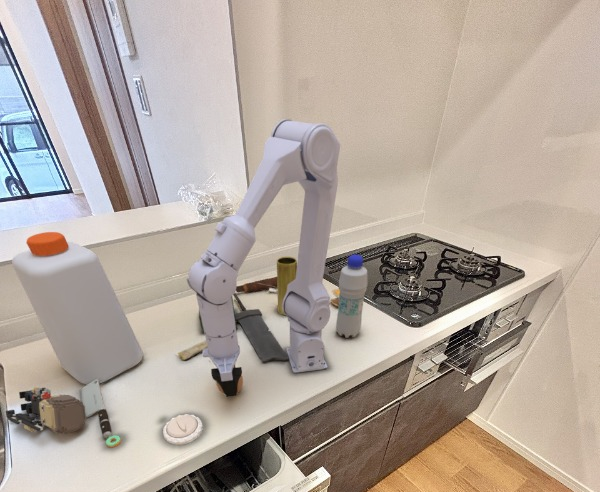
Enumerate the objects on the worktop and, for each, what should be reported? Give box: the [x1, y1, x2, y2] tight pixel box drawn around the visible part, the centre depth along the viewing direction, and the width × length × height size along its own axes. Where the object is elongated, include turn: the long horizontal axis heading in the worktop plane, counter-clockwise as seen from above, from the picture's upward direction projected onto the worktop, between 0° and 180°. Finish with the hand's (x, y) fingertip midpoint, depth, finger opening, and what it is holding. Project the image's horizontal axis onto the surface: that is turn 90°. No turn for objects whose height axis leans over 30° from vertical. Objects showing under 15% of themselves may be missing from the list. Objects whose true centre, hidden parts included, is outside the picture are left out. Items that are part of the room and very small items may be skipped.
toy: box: [5, 386, 87, 435], centre depth 65 cm, size 7×8×15 cm
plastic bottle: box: [11, 231, 144, 385], centre depth 72 cm, size 15×15×28 cm
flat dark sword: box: [232, 292, 289, 363], centre depth 92 cm, size 7×35×2 cm, turn 24°
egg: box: [215, 365, 244, 395], centre depth 71 cm, size 5×5×7 cm
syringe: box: [253, 281, 278, 294], centre depth 107 cm, size 10×2×2 cm
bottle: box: [335, 254, 369, 339], centre depth 84 cm, size 7×7×20 cm
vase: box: [276, 256, 298, 316], centre depth 94 cm, size 6×6×14 cm
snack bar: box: [177, 339, 208, 361], centre depth 85 cm, size 10×2×3 cm
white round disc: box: [162, 413, 204, 446], centre depth 66 cm, size 7×7×2 cm
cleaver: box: [79, 379, 113, 439], centre depth 69 cm, size 17×1×5 cm
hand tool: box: [235, 276, 277, 293], centre depth 109 cm, size 26×3×4 cm, turn 113°
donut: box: [105, 434, 122, 448], centre depth 66 cm, size 2×10×1 cm, turn 121°
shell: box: [330, 288, 340, 307], centre depth 100 cm, size 8×4×5 cm
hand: (230, 385), depth 73 cm, fingers closed on egg, 5 cm apart
